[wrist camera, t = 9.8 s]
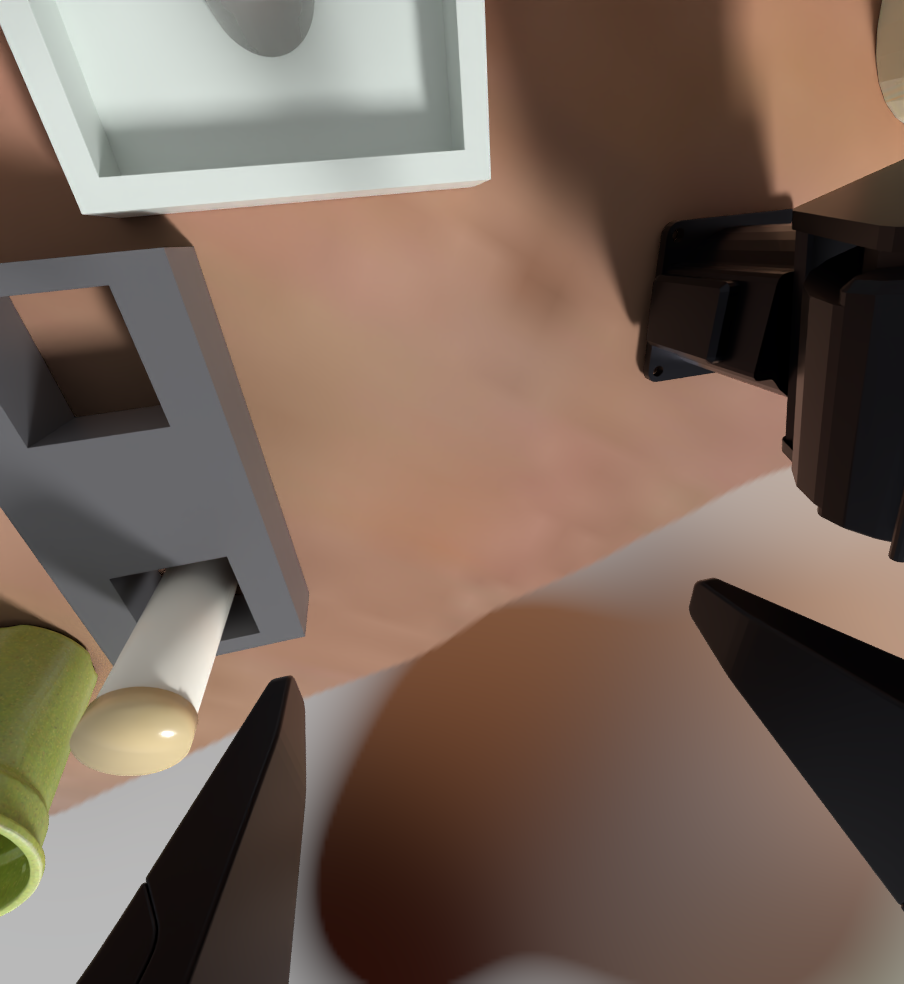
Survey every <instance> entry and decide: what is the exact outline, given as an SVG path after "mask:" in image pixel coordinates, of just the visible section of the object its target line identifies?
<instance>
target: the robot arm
mask: <svg viewBox="0 0 904 984" xmlns="http://www.w3.org/2000/svg"><path fill="white" fill-rule="evenodd" d="M791 222H792V223H791ZM675 230H677V231H678V235H677V238H676V240H675V241H673V237H672V236H673V233H674V231H675ZM646 339H647V348H646V355H645V363H644V376H645V378H647V379H649V380H651V381H653V382H658V381H665V380H671V379H677V378H683V377H690V376H696V375H702V374H709V373H715V372H716V373H719V374H722V375H725V376H728V377H731V378H734V379H737V380H739V381H742V382H745V383H748V384H751V385H754V386H757V387H759V388H762V389H765V390H768V391H771V392H774V393H777V394H780V395H782V396H785V397H788V400H787V420H786V436H784V437H783V439H782V451H783V453H784V454H785V455H786V456H787V457H788V458H789V459H790V460H791V461H792V472H793V475H794V479H795V482H796V486H797V487H798V488H799V489H800V490H801V491H802V492H803V493H804V494H805V495H806V496H807V497H808V498H809V499H810V500H811V501H812V502H813V503H814V504H815V505H817V506H818V508H817V511H818V514H819V515H820V516H821V517H823V518H825V519H827V520H829V521H831V522H833V523H835V524H837V525H839V526H841V527H843V528H845V529H848V530H851V531H854V532H857V533H860V534H863V535H866V536H869V537H872V538H875V539H879V540H884V541H889V542H891V546H890V551H889V555H888V556H889V558H890V559H892V560H894V561H897V562H904V159H903V160H901V161H899V162H896V163H894V164H892V165H890V166H888V167H885V168H883V169H881V170H879V171H876V172H874V173H872V174H870V175H867V176H865V177H863V178H861V179H859V180H856V181H854V182H852V183H850V184H847V185H845V186H843V187H841V188H838V189H836V190H834V191H832V192H829V193H827V194H825V195H823V196H821V197H818V198H816V199H814V200H812V201H809V202H807V203H805V204H803V205H800V206H798V207H796V208H794V209H785V210H775V211H766V212H756V213H747V214H737V215H728V216H718V217H709V218H699V219H690V220H680V221H673V222H670V223H669V224H667V225H666V226H665V228H664V229H663V231H662V235H661V240H660V248H659V255H658V263H657V271H656V278H655V281H654V283H653V291H652V298H651V306H650V314H649V322H648V330H647V337H646ZM657 366H658V370H657V372H656V373H655V374H653V371H654V369H655V368H656V367H657ZM689 611H690V615H691V617H692V619H693V621H694V622H695V624H696V626H697V627H698V629H699V630H700V632H701V634H702V635H703V637H704V639H705V640H706V642H707V644H708V645H709V647H710V648H711V650H712V652H713V653H714V655H715V656H716V658H717V660H718V661H719V663H720V665H721V666H722V668H723V669H724V671H725V672H726V674H727V675H728V677H729V678H730V680H731V681H732V683H733V684H734V685H735V687H736V688H737V690H738V691H739V692H740V694H741V695H742V696H743V697H744V699H745V700H746V702H747V703H748V704H749V706H750V707H751V708H752V709H753V711H754V712H755V713H756V715H757V716H758V717H759V719H760V720H761V721H762V723H763V724H764V725H765V727H766V728H767V729H768V731H769V732H770V733H771V735H772V736H773V737H774V739H775V740H776V741H777V742H778V744H779V745H780V747H781V748H782V749H783V751H784V752H785V753H786V755H787V756H788V757H789V759H790V760H791V761H792V763H793V764H794V765H795V767H796V768H797V769H798V771H799V772H800V773H801V775H802V776H803V777H804V778H805V780H806V781H807V783H808V784H809V785H810V787H811V788H812V789H813V791H814V792H815V793H816V795H817V796H818V797H819V798H820V800H821V801H822V803H823V804H824V805H825V807H826V808H827V809H828V810H829V812H830V813H831V814H832V816H833V817H834V819H835V820H836V821H837V823H838V824H839V825H840V827H841V828H842V829H843V831H844V832H845V833H846V835H847V836H848V837H849V839H850V840H851V841H852V843H853V844H854V845H855V847H856V848H857V849H858V851H859V852H860V853H861V855H862V856H863V857H864V858H865V860H866V861H867V862H868V864H869V865H870V866H871V868H872V869H873V871H874V872H875V873H876V875H877V876H878V877H879V879H880V880H881V881H882V882H883V884H884V885H885V886H886V888H887V889H888V891H889V892H890V893H891V895H892V896H893V897H894V899H895V900H896V901H897V902H898V904H900V905H901V908H902V910H903V911H904V659H902V658H900V657H897V656H895V655H893V654H890V653H888V652H885V651H883V650H881V649H879V648H876V647H874V646H872V645H869V644H867V643H865V642H862V641H860V640H858V639H856V638H853V637H851V636H849V635H846V634H844V633H842V632H839V631H837V630H835V629H832V628H830V627H828V626H826V625H823V624H821V623H818V622H816V621H814V620H812V619H809V618H807V617H805V616H802V615H800V614H798V613H795V612H793V611H791V610H788V609H786V608H784V607H781V606H779V605H777V604H775V603H772V602H770V601H768V600H765V599H763V598H761V597H758V596H756V595H754V594H751V593H749V592H747V591H745V590H742V589H740V588H738V587H735V586H733V585H730V584H728V583H726V582H723V581H721V580H719V579H716V578H709V579H704V580H700V581H697V582H696V583H695V585H694V588H693V593H692V597H691V601H690V605H689ZM305 738H306V737H305V706H304V701H303V698H302V696H301V693H300V691H299V688H298V686H297V683H296V681H295V679H294V677H293V676H285V677H280V678H276V679H273V680H271V681H270V682H269V684H268V685H267V687H266V688H265V690H264V692H263V693H262V695H261V696H260V698H259V699H258V701H257V703H256V704H255V706H254V707H253V709H252V711H251V712H250V714H249V715H248V717H247V718H246V720H245V722H244V723H243V725H242V726H241V728H240V730H239V731H238V733H237V734H236V736H235V738H234V739H233V741H232V742H231V744H230V745H229V747H228V749H227V750H226V752H225V753H224V755H223V757H222V758H221V760H220V761H219V763H218V764H217V766H216V768H215V769H214V771H213V772H212V774H211V776H210V777H209V779H208V780H207V782H206V783H205V785H204V787H203V788H202V790H201V791H200V793H199V795H198V796H197V798H196V799H195V801H194V802H193V804H192V806H191V807H190V809H189V810H188V812H187V814H186V815H185V817H184V818H183V820H182V822H181V823H180V825H179V827H178V828H177V829H176V831H175V833H174V834H173V836H172V837H171V839H170V841H169V842H168V844H167V845H166V847H165V849H164V850H163V852H162V853H161V855H160V856H159V858H158V860H157V861H156V863H155V864H154V866H153V867H152V869H151V871H150V872H149V874H148V875H147V877H146V883H143V884H142V885H141V886H140V888H139V889H138V891H137V892H136V894H135V896H134V897H133V899H132V900H131V902H130V904H129V905H128V907H127V908H126V910H125V911H124V913H123V915H122V916H121V918H120V919H119V921H118V922H117V924H116V925H115V927H114V928H113V930H112V931H111V933H110V935H109V936H108V937H107V939H106V941H105V942H104V944H103V945H102V947H101V948H100V950H99V951H98V953H97V954H96V956H95V957H94V959H93V960H92V962H91V963H90V965H89V966H88V967H87V969H86V970H85V972H84V973H83V974H82V976H81V977H80V979H79V980H78V982H77V983H76V984H288V982H289V973H290V962H291V952H292V941H293V930H294V919H295V908H296V898H297V886H298V876H299V865H300V854H301V843H302V833H303V822H304V811H305V799H306V739H305Z"/></svg>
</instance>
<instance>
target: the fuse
mask: <svg viewBox="0 0 904 984" xmlns="http://www.w3.org/2000/svg"><path fill="white" fill-rule="evenodd" d="M237 585H238V581H237V579H236V576H235V574H234V572H233V569H232V567H231V565H230V563H229V560H228V558H227V557H221V558H216V559H211V560H206V561H200V562H195V563H190V564H185V565H179V566H174V567H169V568H167V569H166V571H165V573H164V574H163V576H162V578H161V580H160V582H159V584H158V585H157V587H156V589H155V591H154V593H153V595H152V597H151V598H150V600H149V602H148V604H147V606H146V608H145V609H144V611H143V613H142V615H141V617H140V619H139V620H138V622H137V624H136V626H135V628H134V630H133V631H132V633H131V635H130V637H129V639H128V641H127V642H126V644H125V646H124V648H123V650H122V652H121V653H120V655H119V657H118V659H117V661H116V663H115V665H114V666H113V668H112V670H111V672H110V674H109V676H108V677H107V679H106V681H105V683H104V685H103V687H102V688H101V690H100V692H99V694H98V696H97V698H96V699H95V700H94V701H93V702H91V703H90V705H89V706H88V707H87V708H86V710H85V712H84V714H83V716H82V717H81V719H80V721H79V723H78V725H77V727H76V728H75V730H74V732H73V734H72V736H71V738H70V749H71V752H72V754H73V755H74V756H75V758H76V759H77V760H78V761H79V762H81V763H82V764H84V765H85V766H87V767H89V768H91V769H93V770H96V771H99V772H102V773H107V774H112V775H120V776H138V775H146V774H152V773H156V772H159V771H163V770H165V769H168V768H170V767H172V766H174V765H175V764H177V763H178V762H180V761H181V760H182V759H183V758H184V757H185V756H186V755H187V753H188V752H189V750H190V747H191V744H192V741H193V738H194V734H195V731H196V728H197V724H198V710H199V707H200V704H201V701H202V697H203V694H204V691H205V688H206V685H207V681H208V678H209V675H210V672H211V668H212V665H213V662H214V659H215V656H216V652H217V649H218V646H219V643H220V640H221V636H222V633H223V630H224V627H225V623H226V620H227V617H228V614H229V611H230V607H231V604H232V601H233V598H234V594H235V591H236V588H237Z"/></svg>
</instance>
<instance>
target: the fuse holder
mask: <svg viewBox="0 0 904 984" xmlns="http://www.w3.org/2000/svg"><path fill="white" fill-rule="evenodd" d="M106 285H109V287H110V289H111V291H112V293H113V296H114V298H115V300H116V303H117V305H118V307H119V310H120V312H121V314H122V316H123V319H124V321H125V323H126V326H127V328H128V330H129V333H130V335H131V337H132V339H133V342H134V344H135V346H136V349H137V351H138V353H139V356H140V358H141V360H142V362H143V365H144V367H145V369H146V372H147V374H148V376H149V379H150V381H151V383H152V385H153V388H154V390H155V392H156V395H157V397H158V399H159V402H160V404H161V405H158V406H151V407H144V408H137V409H130V410H123V411H116V412H109V413H102V414H95V415H88V416H81V417H74V415H73V413H72V411H71V410H70V408H69V406H68V404H67V402H66V400H65V399H64V397H63V395H62V393H61V391H60V389H59V388H58V386H57V384H56V382H55V380H54V378H53V376H52V375H51V373H50V371H49V369H48V367H47V365H46V364H45V362H44V360H43V358H42V356H41V354H40V353H39V351H38V349H37V347H36V345H35V343H34V342H33V340H32V338H31V336H30V334H29V332H28V331H27V329H26V327H25V325H24V323H23V321H22V320H21V318H20V316H19V314H18V312H17V310H16V309H15V307H14V305H13V303H12V301H11V299H10V298H9V296H13V295H22V294H32V293H41V292H50V291H60V290H69V289H78V288H88V287H97V286H106ZM0 507H1V508H2V510H3V511H4V513H5V514H6V515H7V517H8V518H9V520H10V521H11V523H12V524H13V525H14V527H15V528H16V530H17V531H18V532H19V534H20V535H21V537H22V538H23V539H24V541H25V542H26V544H27V545H28V546H29V548H30V549H31V551H32V552H33V554H34V555H35V556H36V558H37V559H38V561H39V562H40V563H41V565H42V566H43V568H44V569H45V570H46V572H47V573H48V575H49V576H50V577H51V579H52V580H53V582H54V583H55V584H56V586H57V587H58V589H59V590H60V592H61V593H62V594H63V596H64V597H65V599H66V600H67V601H68V603H69V604H70V606H71V607H72V608H73V610H74V611H75V613H76V614H77V615H78V617H79V618H80V620H81V621H82V622H83V624H84V625H85V627H86V628H87V630H88V631H89V632H90V634H91V635H92V637H93V638H94V639H95V641H96V642H97V644H98V645H99V646H100V648H101V649H102V651H103V652H104V653H105V655H106V656H107V658H108V659H109V661H110V662H111V663H112V665H113V666H114V665H115V663H116V661H117V659H118V657H119V655H120V653H121V652H122V650H123V648H124V646H125V644H126V642H127V641H128V639H129V637H130V635H131V633H132V631H133V630H134V628H135V626H136V624H137V622H138V620H139V619H140V617H141V615H142V613H143V611H144V609H145V608H146V606H147V604H148V602H149V600H150V598H151V597H152V595H153V593H154V591H155V589H156V587H157V585H158V584H159V582H160V580H161V578H162V577H161V575H160V573H159V571H158V569H164V568H169V567H174V566H179V565H185V564H190V563H195V562H200V561H206V560H211V559H216V558H221V557H227V558H228V560H229V563H230V565H231V567H232V569H233V572H234V574H235V576H236V579H237V581H238V583H239V586H240V588H241V590H242V592H243V594H242V595H237V596H234V598H233V601H232V604H231V607H230V611H229V614H228V617H227V620H226V623H225V627H224V630H223V633H222V636H221V640H220V643H219V646H218V649H217V652H216V656H217V655H222V654H226V653H231V652H236V651H240V650H245V649H249V648H254V647H258V646H263V645H267V644H272V643H277V642H281V641H286V640H290V639H295V638H299V637H304V636H305V632H306V622H307V611H308V601H309V591H308V588H307V585H306V582H305V579H304V576H303V573H302V570H301V567H300V564H299V561H298V558H297V555H296V552H295V549H294V546H293V543H292V540H291V537H290V534H289V531H288V528H287V525H286V522H285V519H284V516H283V513H282V510H281V507H280V504H279V501H278V498H277V495H276V492H275V489H274V486H273V483H272V480H271V477H270V474H269V471H268V468H267V465H266V462H265V459H264V456H263V453H262V450H261V447H260V444H259V441H258V438H257V435H256V432H255V429H254V426H253V423H252V420H251V417H250V414H249V411H248V408H247V405H246V402H245V399H244V396H243V393H242V390H241V387H240V384H239V381H238V378H237V375H236V372H235V369H234V366H233V363H232V360H231V357H230V354H229V351H228V348H227V345H226V342H225V339H224V336H223V333H222V330H221V327H220V324H219V321H218V318H217V315H216V312H215V309H214V306H213V303H212V300H211V297H210V294H209V291H208V288H207V285H206V282H205V279H204V276H203V273H202V270H201V267H200V264H199V261H198V258H197V255H196V252H195V249H194V247H163V248H153V249H143V250H132V251H122V252H112V253H102V254H91V255H81V256H71V257H60V258H50V259H40V260H30V261H19V262H9V263H0Z"/></svg>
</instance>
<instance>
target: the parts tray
mask: <svg viewBox="0 0 904 984" xmlns="http://www.w3.org/2000/svg"><path fill="white" fill-rule="evenodd" d="M314 1H315V3H314V13H313V19H312V23H311V26H310V29H309V31H308V33H307V35H306V37H305V38H304V40H303V42H302V43H301V44H300V45H299V46H298V47H297V48H296V49H294V50H293V51H292V52H290V53H288V54H286V55H283V56H279V57H265V56H260V55H257V54H254V53H252V52H250V51H248V50H246V49H244V48H243V47H241V46H240V45H238V44H237V43H236V42H235V41H234V40H233V39H231V38H230V37H229V35H228V34H227V33H226V32H225V31H224V30H223V29H222V27H221V26H220V25H219V23H218V22H217V20H216V19H215V17H214V16H213V14H212V12H211V10H210V9H209V7H208V5H207V3H206V2H205V0H0V25H1V27H2V30H3V32H4V34H5V37H6V39H7V41H8V44H9V46H10V48H11V50H12V53H13V55H14V57H15V60H16V62H17V64H18V67H19V69H20V71H21V74H22V76H23V78H24V81H25V83H26V85H27V88H28V90H29V92H30V95H31V97H32V99H33V102H34V104H35V106H36V108H37V111H38V113H39V115H40V118H41V120H42V122H43V125H44V127H45V129H46V132H47V134H48V136H49V139H50V141H51V143H52V146H53V148H54V150H55V153H56V155H57V157H58V160H59V162H60V164H61V167H62V169H63V171H64V173H65V176H66V178H67V180H68V183H69V185H70V187H71V190H72V192H73V194H74V197H75V199H76V201H77V204H78V206H79V208H80V211H81V213H82V214H84V215H93V216H102V217H111V218H125V217H136V216H148V215H159V214H171V213H182V212H193V211H205V210H216V209H227V208H239V207H250V206H262V205H273V204H284V203H296V202H307V201H319V200H330V199H341V198H353V197H364V196H376V195H387V194H398V193H410V192H421V191H432V190H444V189H455V188H467V187H474V186H476V185H479V184H481V183H483V182H486V181H488V180H490V179H491V169H490V141H489V113H488V85H487V57H486V29H485V0H314Z"/></svg>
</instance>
